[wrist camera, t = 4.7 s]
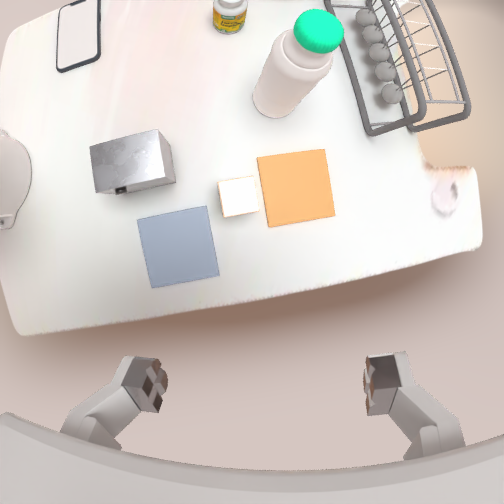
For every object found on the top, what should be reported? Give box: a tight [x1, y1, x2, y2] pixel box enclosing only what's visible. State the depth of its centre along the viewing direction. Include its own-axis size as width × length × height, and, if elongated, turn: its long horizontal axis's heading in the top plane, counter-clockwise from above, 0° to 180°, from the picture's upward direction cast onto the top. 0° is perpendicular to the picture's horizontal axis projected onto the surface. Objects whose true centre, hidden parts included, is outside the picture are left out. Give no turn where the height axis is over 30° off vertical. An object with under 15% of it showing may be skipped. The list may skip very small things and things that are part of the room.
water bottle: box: [253, 9, 344, 118], centre depth 36 cm, size 7×7×25 cm
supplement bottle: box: [213, 0, 248, 34], centre depth 40 cm, size 5×5×10 cm
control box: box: [90, 129, 176, 195], centre depth 42 cm, size 9×7×12 cm
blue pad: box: [137, 206, 220, 288], centre depth 49 cm, size 11×11×1 cm
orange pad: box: [257, 149, 335, 227], centre depth 50 cm, size 11×11×1 cm
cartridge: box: [217, 176, 259, 218], centre depth 45 cm, size 5×5×9 cm
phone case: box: [56, 0, 101, 73], centre depth 41 cm, size 9×2×16 cm
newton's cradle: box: [324, 0, 471, 136], centre depth 40 cm, size 30×10×18 cm, turn 13°
